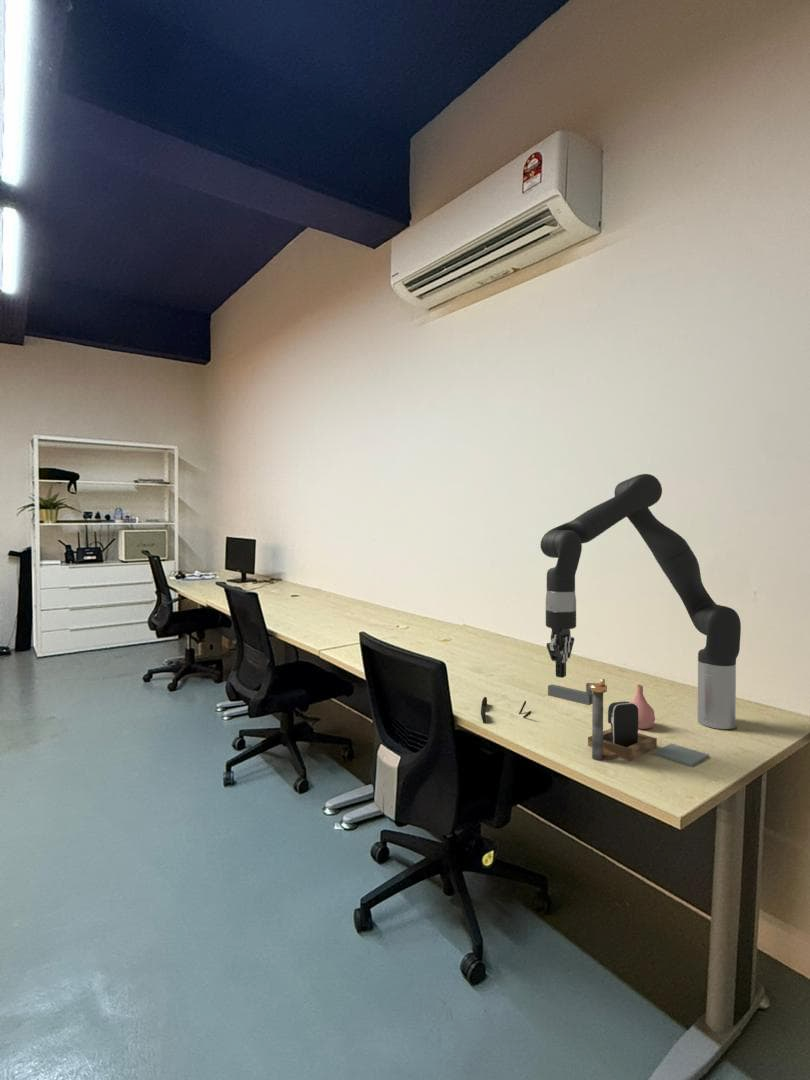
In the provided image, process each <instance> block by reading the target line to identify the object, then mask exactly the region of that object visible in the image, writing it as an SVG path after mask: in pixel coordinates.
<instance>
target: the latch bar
mask: <svg viewBox="0 0 810 1080" xmlns="http://www.w3.org/2000/svg"><path fill="white" fill-rule="evenodd" d="M585 687H586V688H585V691H583V690H579V689H574V688H570V687H566V686H561V685H557V684H549V685H547V696H549V697H553V698H556V699H557V698H558V699H561V700H566V701H569V702H570V701H571V702H575V703H577V704H578V703H579V704H582V705H586V706H590V705H593V692H598V693H603V694H604V693H606V692H607V691H608V685H607V684H606V679H605V678H600V682H587V683H585Z"/></svg>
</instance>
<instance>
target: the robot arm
mask: <svg viewBox="0 0 810 1080" xmlns="http://www.w3.org/2000/svg"><path fill="white" fill-rule="evenodd" d="M662 487H663V486H662V484H661V482H660V480H659V479H658V478H657V477H656V476H654V475H653V474H650V473H643V474H642V473H640V474H638V475H635V476H632V477H630V478H627V479H625V480H623V481H621V482H619V483H617V485H616V486H615V488H614V497H611V498H610V499H607V500H606V501H604V502H601V503H599V504H597V505H595V506H593V507H592V508H591V507H590V509H588V510H586V511H584V512H583V513H581V514H580V515H579V516H577V517H575V518H574V519H572V520H570V521H568V522H564V523H563V524H561V525H558V526H555V527H553V528H552V529H550V530H547V532H546V533H545V534H544V535H543V536H542V538H541V540H540V545H539V546H540V550H541V552H542V553H543V554H544V555H545V556H547V557H549V558H553V559H557V562H556V565H555V566H554V567H550V568H549V569H548V570H547V571H546V595H545V626H546V628H548V629H549V628H550V629H551V634H550V642H547V643H546V648H547V652H548V654H549V657H550V661H553V662H554V663H555V677H557V678H565V677H566V676H567V662H568V661H569V660H568V659H570V658H571V655H572V650H573V647H574V643H575V637H573V636H572V635H571V630H573V629H575V628H576V627H577V596H576V573H577V570H578V567H579V562H580V559H581V554H582V551H583V547H582V546H583V545H582V544H587V543H589V542H591V541H592V540H594V539H595V538H597V537H599V536H600V535H601V534H603V533H604V532H606V531H608V530H609V529H610V528H611V527H613V526H615V525H616V524H618V523H619V522H621V521H622V520H624V519H625V518H627V519H628V521H630V523H631V524H632V525H633V527H634V528H635V530H636V531H637V532H638V533H639V535H640V536H641V538H642V540H643V541H644V542H645V544H646V546H647V547H648V548H649V551H651V553H652V555H653V558H654V559H655V560H656V562H657V563H658V565H659V567H660V568H661V571H662V572H663V573H664V575H665V577H667V579H668V580H669V583H670V584H671V586H672V587H673V589H674V590H675V592H676V593H677V595H678V597H679V598H680V600H681V601H682V603H683V605H684V607H685V609H686V612H687V614H688V616H689V618H690V620H691V622H692V624H693V626H694V627H695V629H696V630H697V631H698V632H699V633H701V634H702V635H704V636H706V639H705V647H704V648H702V649H700V650H699V651H697V723H698V724H700V725H703V726H705V727H708V728H712V729H719V730H731V729H735V728H736V710H737V709H736V703H737V700H736V699H737V696H736V694H737V693H736V692H737V690H736V689H737V658H738V656H739V653H740V649H741V647H740V646H741V633H742V632H741V630H742V628H741V626H742V625H741V619H740V616H739V614H738V613H737V611H736V610H735V609H733V608H731V607H729V606H725V605H721V604H717V603H716V602H715V601H714V599H712V597H711V596H710V594H709V592H708V591H707V590H706V588H705V586H704V584H703V581H702V578H701V577H702V576H701V569H700V565H699V561H698V558H697V556H696V555H695V553H694V551H693V550H692V548H691V547H690V545H689V544H688V542H687V540H686V539H684V538H683V536H681V535H680V534H679V533H677V532H676V531H674V530H673V529H671V528H669V527H668V526H666V525H665V524H664V523H662V522H661V521H660V520H659V519H657V518H656V516H655V515H654V514H653V513H652V511H651V509H650V507H652V506H654V505H655V504H657V503H658V502H659V501H660V499H661V497H662V494H663V488H662Z"/></svg>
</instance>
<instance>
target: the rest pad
mask: <svg viewBox="0 0 810 1080" xmlns="http://www.w3.org/2000/svg"><path fill="white" fill-rule="evenodd" d="M653 755H655V756H658V757H660V758H663V759H666V760H669V761H673V762H674V763H675V762H676V763H678V764H682V765H685V766H689V767H694V766H695V765H697V764H699V763H701V762H702V761H704V760H706V759H708V758H710V757H709V756H710V755H709V754H707V753H705V752H701V751H697V750H695V749H691V748H687V747H684V746H681V745H678V744H673V743H670V744H668V745H665V746H663V747H661V748H659V749H657V750H655V751H653Z"/></svg>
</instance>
